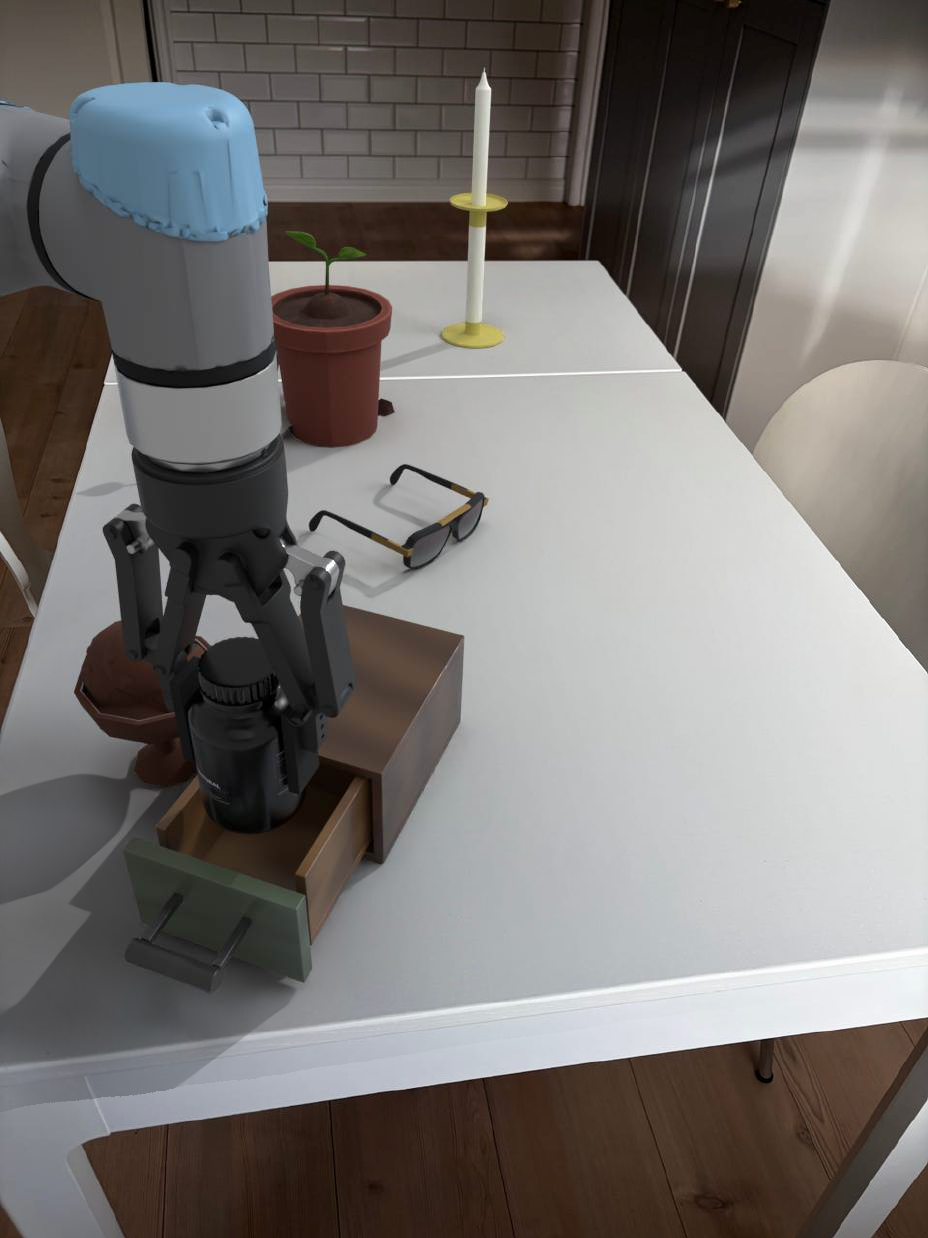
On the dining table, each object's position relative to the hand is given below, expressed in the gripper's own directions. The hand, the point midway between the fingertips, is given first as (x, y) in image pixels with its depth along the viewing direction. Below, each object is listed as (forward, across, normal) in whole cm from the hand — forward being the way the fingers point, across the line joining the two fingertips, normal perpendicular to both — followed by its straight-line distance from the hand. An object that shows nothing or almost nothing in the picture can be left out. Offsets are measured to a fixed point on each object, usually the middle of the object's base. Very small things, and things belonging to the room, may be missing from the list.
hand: (251, 762), depth 63 cm
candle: (+13, +22, -106) cm, 109 cm away
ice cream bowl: (+13, +14, -8) cm, 21 cm away
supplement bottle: (+4, 0, 0) cm, 4 cm away
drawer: (+12, 0, +1) cm, 12 cm away
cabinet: (+13, 0, -14) cm, 19 cm away
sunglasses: (+13, +10, -48) cm, 51 cm away
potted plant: (+13, +30, -70) cm, 78 cm away
